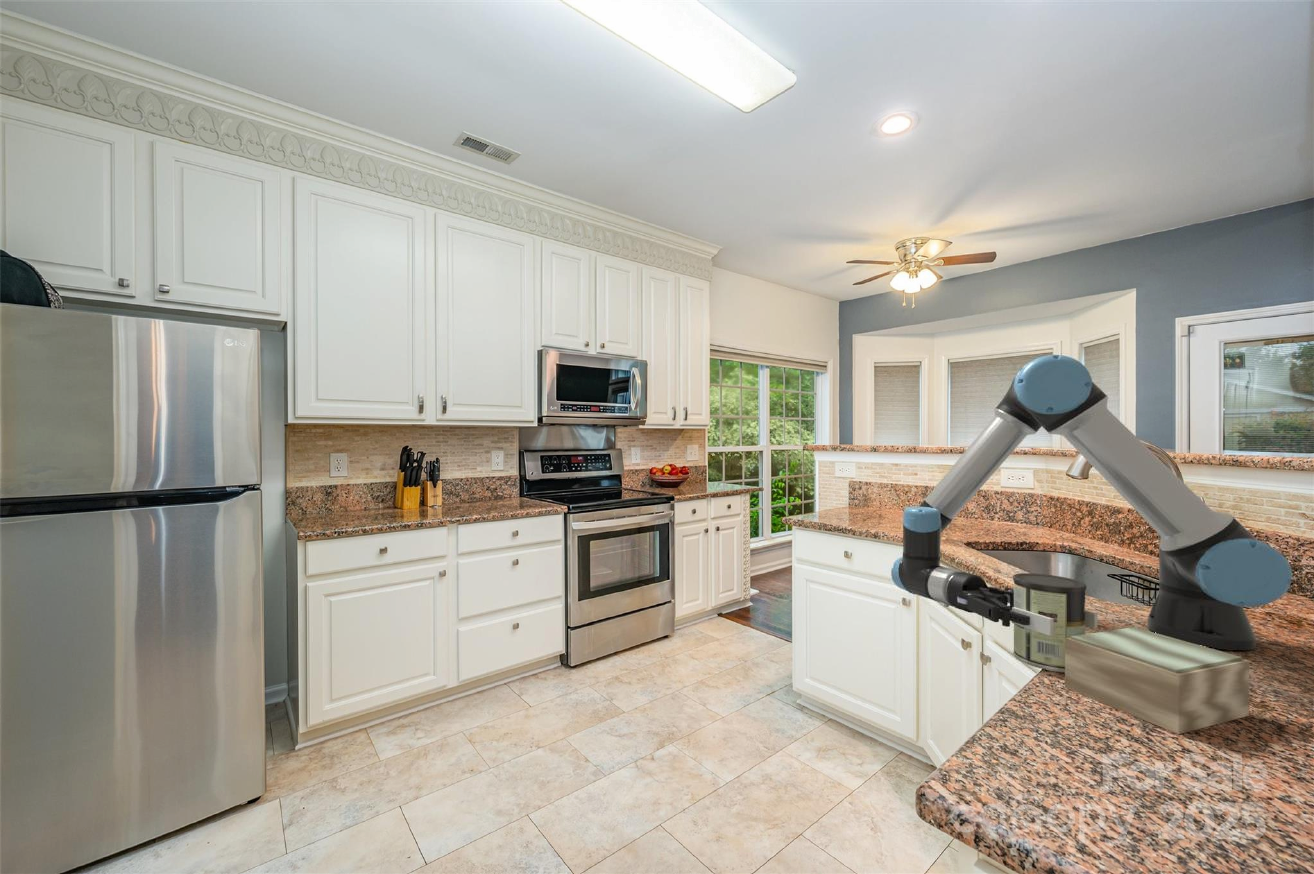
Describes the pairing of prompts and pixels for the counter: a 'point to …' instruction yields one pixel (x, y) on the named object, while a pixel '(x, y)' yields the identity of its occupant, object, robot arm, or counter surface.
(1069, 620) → the coffee can
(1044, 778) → the counter surface
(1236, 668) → the riser
